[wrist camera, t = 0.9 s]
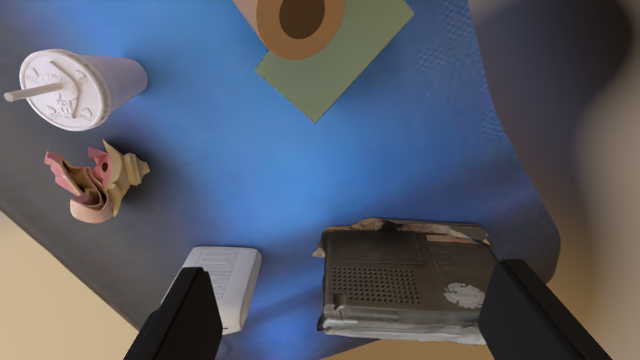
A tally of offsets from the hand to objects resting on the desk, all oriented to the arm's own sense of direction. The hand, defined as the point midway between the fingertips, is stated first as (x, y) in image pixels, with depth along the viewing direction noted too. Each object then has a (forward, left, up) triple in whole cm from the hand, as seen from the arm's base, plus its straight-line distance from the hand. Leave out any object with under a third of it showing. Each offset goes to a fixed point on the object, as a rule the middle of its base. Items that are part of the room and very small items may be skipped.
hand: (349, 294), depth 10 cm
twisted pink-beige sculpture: (-14, -24, -27) cm, 39 cm away
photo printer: (+4, -26, -27) cm, 38 cm away
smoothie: (-18, -12, -27) cm, 35 cm away
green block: (-5, +5, -27) cm, 28 cm away
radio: (+21, -8, -27) cm, 35 cm away
